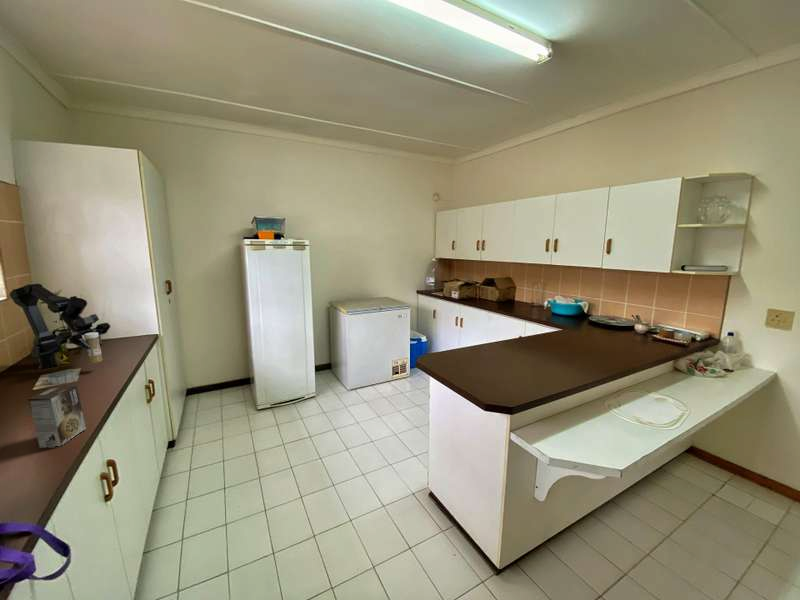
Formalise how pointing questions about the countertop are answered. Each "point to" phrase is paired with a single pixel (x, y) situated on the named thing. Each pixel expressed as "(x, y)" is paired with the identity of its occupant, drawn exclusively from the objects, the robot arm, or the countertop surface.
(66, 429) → the coffee box
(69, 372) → the steel collar
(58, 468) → the countertop surface
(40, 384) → the birch board
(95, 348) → the sprinkles bottle
